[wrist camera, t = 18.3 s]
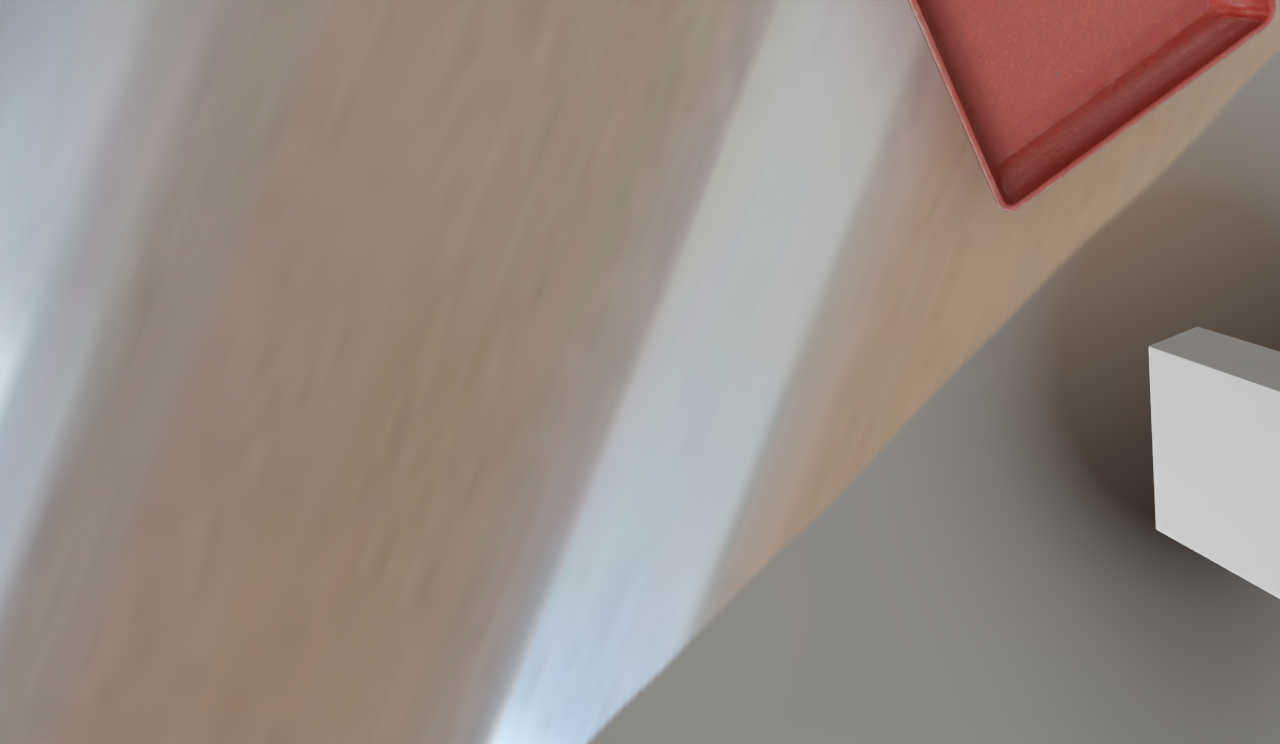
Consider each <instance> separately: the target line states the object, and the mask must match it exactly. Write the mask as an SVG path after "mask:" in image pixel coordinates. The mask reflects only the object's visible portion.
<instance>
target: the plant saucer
mask: <svg viewBox="0 0 1280 744" xmlns="http://www.w3.org/2000/svg"><path fill="white" fill-rule="evenodd" d="M908 2H909V4H910V6H911V9H912V11H913V13H914V15H915V18H916V20H917V22H918V25H919V27H920V29H921V31H922V34H923V36H924V38H925V41H926V43H927V45H928V47H929V50H930V52H931V54H932V57H933V59H934V61H935V63H936V66H937V68H938V70H939V73H940V75H941V77H942V80H943V82H944V84H945V87H946V89H947V91H948V93H949V96H950V98H951V100H952V103H953V105H954V107H955V109H956V112H957V114H958V116H959V119H960V121H961V123H962V125H963V128H964V130H965V132H966V135H967V137H968V139H969V142H970V144H971V146H972V148H973V151H974V153H975V155H976V158H977V160H978V162H979V164H980V167H981V169H982V171H983V173H984V176H985V178H986V180H987V183H988V185H989V187H990V189H991V192H992V194H993V196H994V198H995V200H996V202H997V204H998V206H999V207H1000V208H1001V209H1002V210H1003V211H1006V212H1014V211H1016V210H1018V209H1020V208H1021V207H1023V206H1024V205H1025V204H1026V203H1028V202H1029V201H1031V200H1032V199H1033V198H1035V197H1036V196H1038V195H1039V194H1040V193H1042V192H1043V191H1045V190H1046V189H1047V188H1048V187H1050V186H1051V185H1052V184H1054V183H1055V182H1057V181H1058V180H1059V179H1060V178H1062V177H1063V176H1064V175H1066V174H1067V173H1069V172H1070V171H1071V170H1073V169H1074V168H1075V167H1077V166H1078V165H1079V164H1081V163H1082V162H1084V161H1085V160H1086V159H1088V158H1089V157H1091V156H1092V155H1093V154H1095V153H1096V152H1098V151H1099V150H1100V149H1102V148H1103V147H1104V146H1105V145H1107V144H1108V143H1110V142H1111V141H1112V140H1114V139H1115V138H1116V137H1117V136H1119V135H1120V134H1122V133H1123V132H1124V131H1126V130H1127V129H1128V128H1130V127H1131V126H1133V125H1134V124H1136V123H1137V122H1139V121H1140V120H1141V119H1142V118H1144V117H1145V116H1146V115H1148V114H1149V113H1151V112H1152V111H1153V110H1155V109H1156V108H1157V107H1158V106H1160V105H1161V104H1163V103H1164V102H1166V101H1167V100H1168V99H1170V98H1171V97H1172V96H1174V95H1175V94H1176V93H1177V92H1179V91H1180V90H1182V89H1183V88H1185V87H1186V86H1188V85H1189V84H1190V83H1192V82H1193V81H1194V80H1196V79H1197V78H1198V77H1200V76H1201V75H1202V74H1204V73H1205V72H1206V71H1208V70H1209V69H1211V68H1212V67H1214V66H1215V65H1216V64H1217V63H1219V62H1220V61H1221V60H1223V59H1224V58H1226V57H1227V56H1229V55H1230V54H1231V53H1233V52H1234V51H1235V50H1237V49H1238V48H1239V47H1241V46H1242V45H1243V44H1245V43H1246V42H1248V41H1249V40H1251V39H1252V38H1253V37H1254V36H1256V35H1257V34H1259V33H1260V32H1262V31H1263V30H1264V29H1265V28H1266V27H1267V26H1268V25H1269V24H1270V23H1271V21H1272V20H1273V17H1274V15H1275V12H1276V4H1275V0H908Z"/></svg>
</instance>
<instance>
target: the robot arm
mask: <svg viewBox="0 0 1280 744" xmlns="http://www.w3.org/2000/svg"><path fill="white" fill-rule="evenodd" d="M1149 370H1150V394H1151V416H1152V417H1151V418H1152V439H1153V440H1152V442H1153V466H1154V490H1155V515H1156V529H1157V530H1158V531H1160V532H1162V533H1164V534H1165V535H1167V536H1169V537H1171V538H1173V539H1174V540H1176V541H1178V542H1180V543H1181V544H1183V545H1185V546H1187V547H1189V548H1190V549H1192V550H1194V551H1196V552H1197V553H1199V554H1201V555H1203V556H1205V557H1206V558H1208V559H1210V560H1212V561H1213V562H1215V563H1217V564H1219V565H1221V566H1222V567H1224V568H1226V569H1228V570H1229V571H1231V572H1233V573H1235V574H1237V575H1238V576H1240V577H1242V578H1244V579H1246V580H1247V581H1249V582H1251V583H1253V584H1254V585H1256V586H1258V587H1260V588H1262V589H1263V590H1265V591H1267V592H1269V593H1270V594H1272V595H1274V596H1276V597H1278V598H1280V352H1279V351H1275V350H1272V349H1269V348H1265V347H1262V346H1259V345H1256V344H1252V343H1249V342H1246V341H1242V340H1239V339H1236V338H1233V337H1229V336H1226V335H1223V334H1219V333H1216V332H1213V331H1210V330H1206V329H1203V328H1200V327H1196V328H1193V329H1191V330H1188V331H1186V332H1183V333H1181V334H1178V335H1176V336H1173V337H1171V338H1168V339H1166V340H1164V341H1161V342H1158V343H1156V344H1153V345H1151V346H1149Z"/></svg>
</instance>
